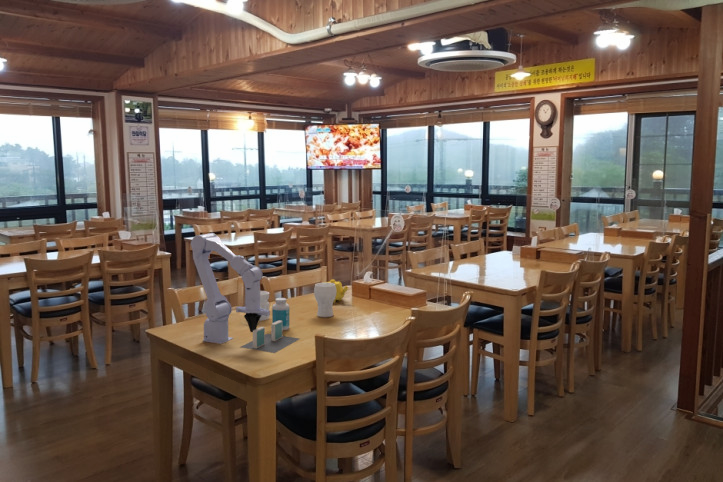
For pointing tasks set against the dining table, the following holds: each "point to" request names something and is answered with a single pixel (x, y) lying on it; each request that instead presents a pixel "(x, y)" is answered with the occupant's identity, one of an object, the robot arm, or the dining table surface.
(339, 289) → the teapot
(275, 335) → the tile
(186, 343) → the dining table surface
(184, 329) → the dining table surface
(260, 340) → the tile
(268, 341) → the mat
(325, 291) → the cup
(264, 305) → the vase
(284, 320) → the pill bottle
